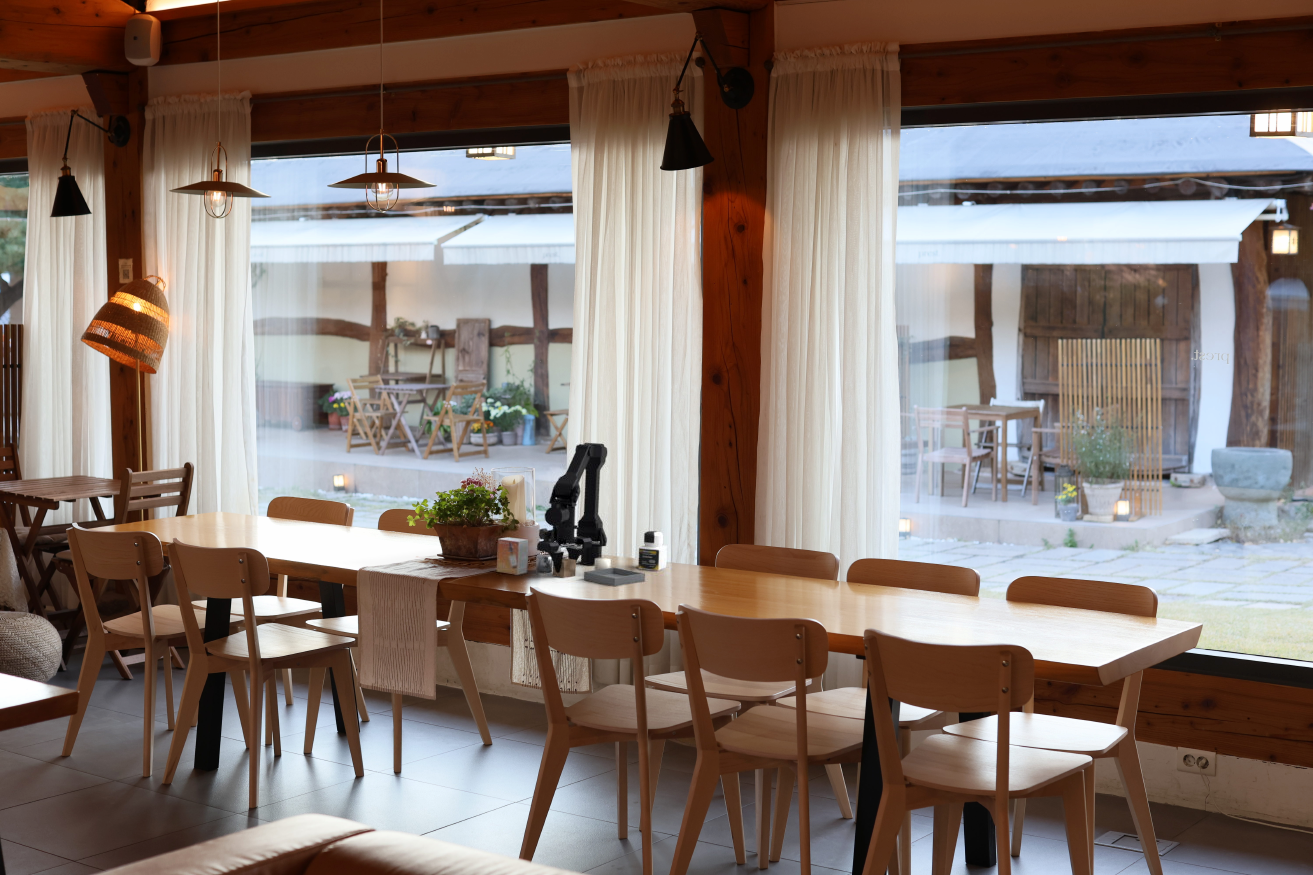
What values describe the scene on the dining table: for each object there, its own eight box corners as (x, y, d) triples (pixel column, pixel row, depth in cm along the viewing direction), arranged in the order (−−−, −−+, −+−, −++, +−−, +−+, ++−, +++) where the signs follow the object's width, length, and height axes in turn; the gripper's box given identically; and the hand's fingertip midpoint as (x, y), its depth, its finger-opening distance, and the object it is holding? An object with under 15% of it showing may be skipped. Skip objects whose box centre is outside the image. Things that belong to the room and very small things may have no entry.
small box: (496, 572, 402) (497, 538, 401) (506, 569, 407) (507, 536, 406) (517, 575, 398) (518, 541, 398) (527, 572, 403) (528, 539, 402)
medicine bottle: (637, 568, 416) (639, 532, 415) (646, 565, 423) (647, 529, 422) (658, 571, 414) (659, 534, 413) (666, 567, 420) (667, 531, 419)
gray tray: (613, 574, 404) (614, 567, 404) (644, 581, 396) (644, 573, 395) (583, 579, 395) (584, 571, 394) (614, 586, 386) (615, 578, 386)
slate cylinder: (544, 569, 410) (544, 554, 409) (555, 571, 406) (555, 556, 406) (532, 571, 406) (533, 555, 405) (543, 573, 402) (544, 557, 402)
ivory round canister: (602, 572, 408) (602, 557, 407) (613, 575, 404) (614, 559, 404) (591, 574, 404) (591, 558, 404) (602, 576, 401) (602, 560, 400)
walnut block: (564, 573, 403) (564, 557, 403) (575, 575, 400) (575, 559, 400) (552, 575, 400) (553, 559, 399) (563, 577, 396) (564, 561, 396)
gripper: (569, 516, 411) (567, 564, 412) (525, 521, 397) (524, 571, 398) (593, 520, 404) (592, 569, 405) (550, 525, 390) (548, 576, 391)
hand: (564, 571), depth 400 cm, fingers closed on walnut block, 5 cm apart
